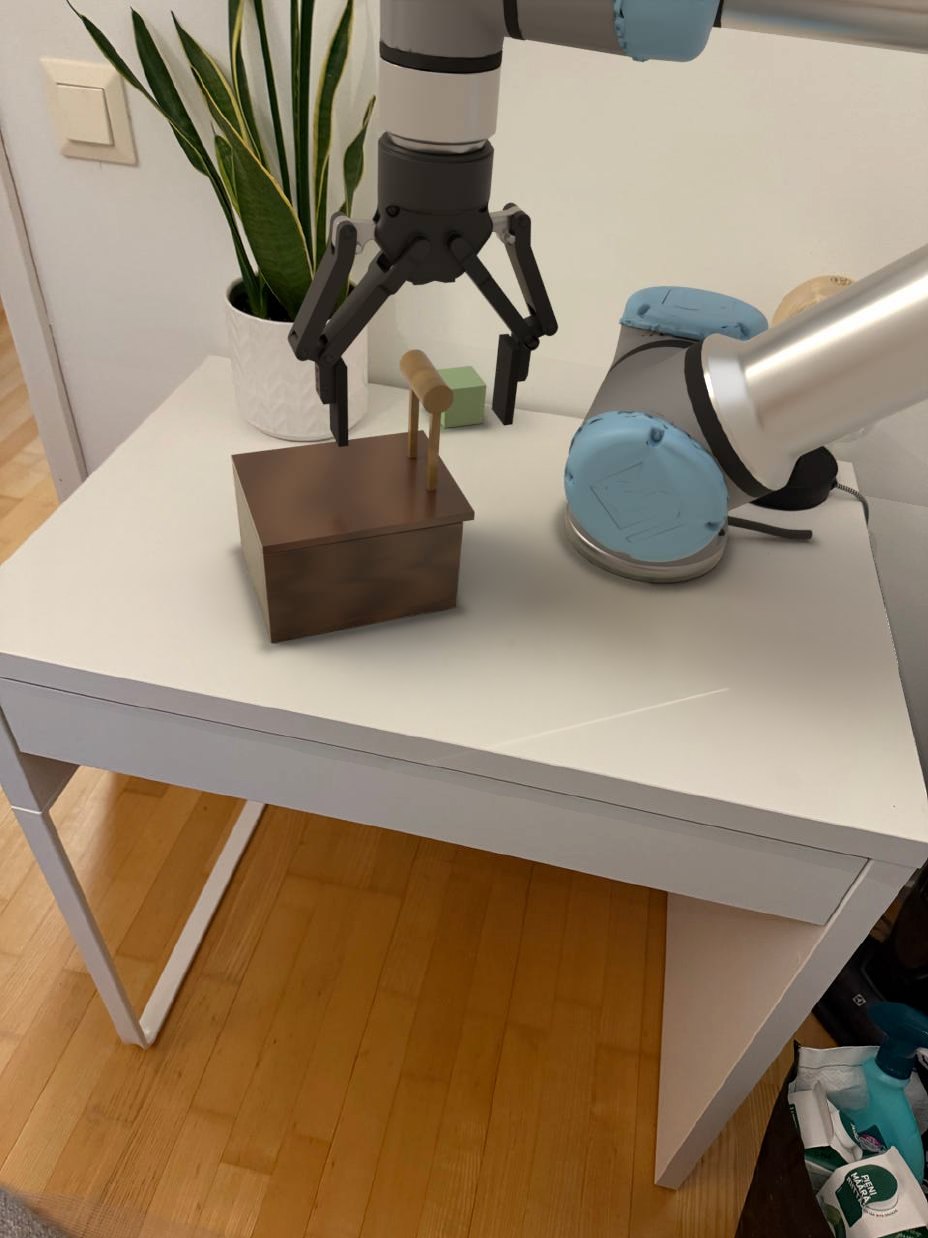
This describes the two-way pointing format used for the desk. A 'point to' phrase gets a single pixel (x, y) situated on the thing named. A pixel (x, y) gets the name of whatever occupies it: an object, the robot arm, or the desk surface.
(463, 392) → the block
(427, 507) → the lid
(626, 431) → the robot arm
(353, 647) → the desk surface
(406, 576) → the chest
